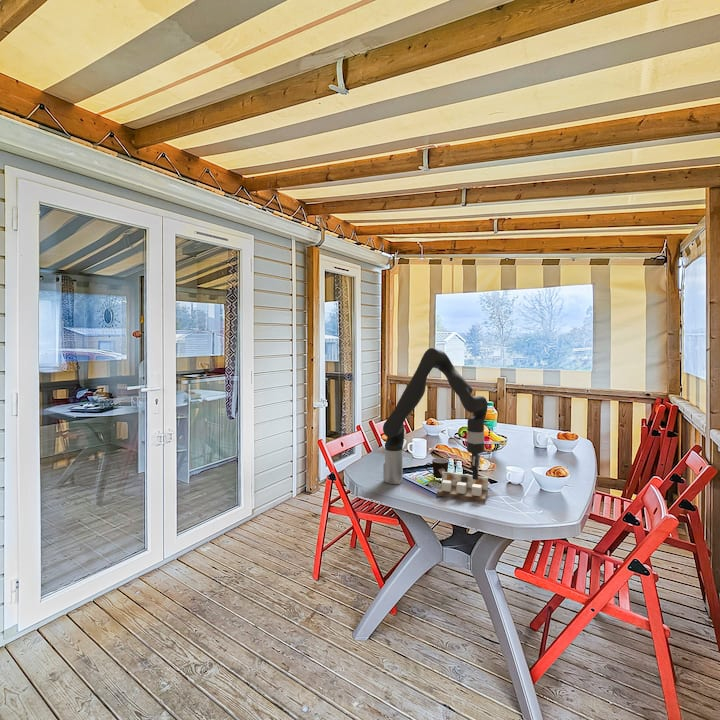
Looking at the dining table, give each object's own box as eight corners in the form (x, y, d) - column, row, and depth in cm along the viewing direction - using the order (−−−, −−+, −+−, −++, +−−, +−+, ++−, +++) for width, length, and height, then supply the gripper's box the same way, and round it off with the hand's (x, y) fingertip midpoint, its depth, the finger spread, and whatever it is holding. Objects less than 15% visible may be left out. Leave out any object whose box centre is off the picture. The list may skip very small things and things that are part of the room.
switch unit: (436, 495, 197) (437, 479, 196) (442, 487, 208) (442, 471, 207) (484, 503, 188) (485, 485, 188) (487, 493, 199) (488, 477, 199)
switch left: (441, 490, 197) (441, 482, 197) (443, 487, 201) (443, 479, 200) (450, 491, 195) (450, 483, 195) (451, 488, 199) (451, 480, 199)
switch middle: (456, 492, 194) (456, 484, 194) (457, 489, 198) (458, 481, 198) (465, 494, 193) (465, 485, 192) (466, 491, 196) (466, 482, 196)
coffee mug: (449, 477, 222) (449, 459, 221) (446, 482, 214) (446, 463, 213) (428, 474, 226) (428, 456, 226) (424, 479, 218) (424, 461, 218)
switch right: (471, 495, 191) (471, 486, 191) (472, 492, 195) (473, 483, 195) (480, 496, 190) (480, 487, 190) (481, 493, 194) (481, 484, 193)
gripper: (469, 436, 192) (468, 473, 193) (464, 443, 179) (464, 482, 181) (486, 438, 189) (485, 475, 190) (482, 445, 177) (482, 485, 178)
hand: (475, 478), depth 185 cm, fingers closed
